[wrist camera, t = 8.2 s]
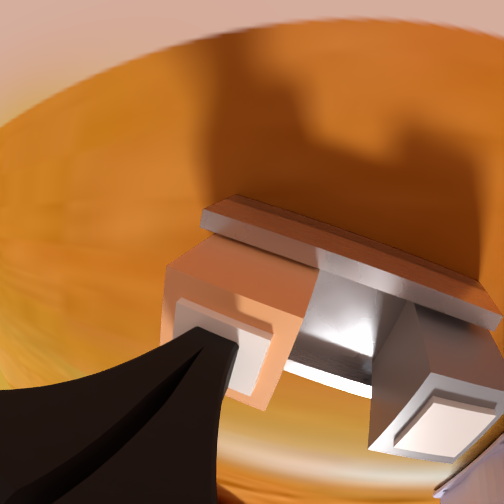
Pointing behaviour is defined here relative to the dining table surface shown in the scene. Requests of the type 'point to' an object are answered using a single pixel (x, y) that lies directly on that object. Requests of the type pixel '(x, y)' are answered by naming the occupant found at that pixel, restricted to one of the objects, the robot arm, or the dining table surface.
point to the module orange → (240, 308)
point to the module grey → (434, 386)
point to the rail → (348, 289)
